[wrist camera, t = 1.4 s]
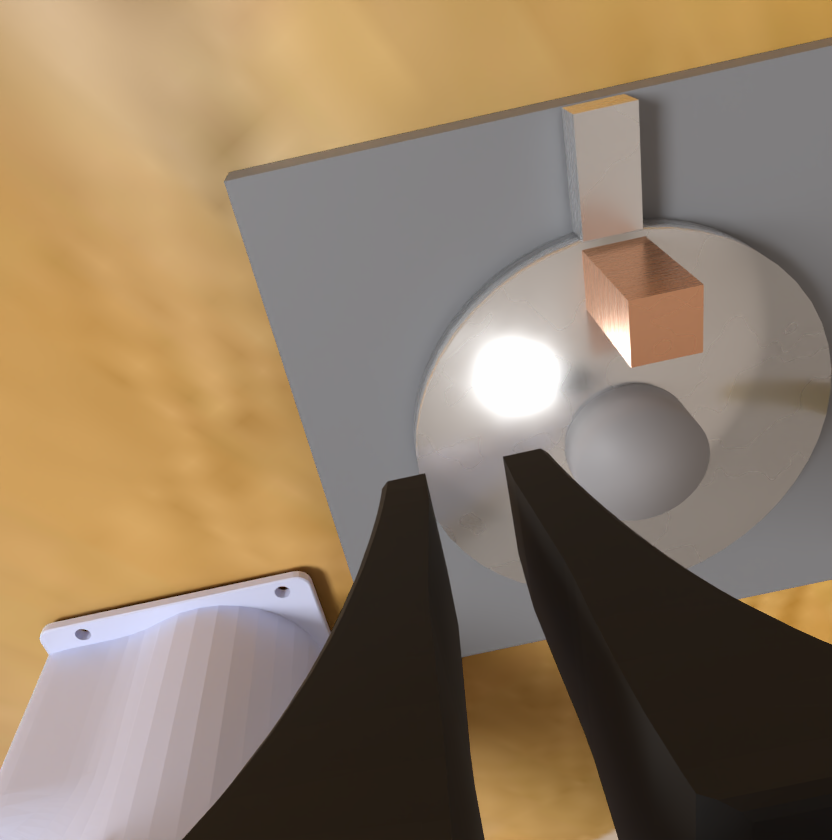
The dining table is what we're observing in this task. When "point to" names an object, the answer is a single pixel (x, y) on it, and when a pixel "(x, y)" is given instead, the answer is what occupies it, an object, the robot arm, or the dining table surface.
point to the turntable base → (497, 248)
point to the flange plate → (577, 362)
